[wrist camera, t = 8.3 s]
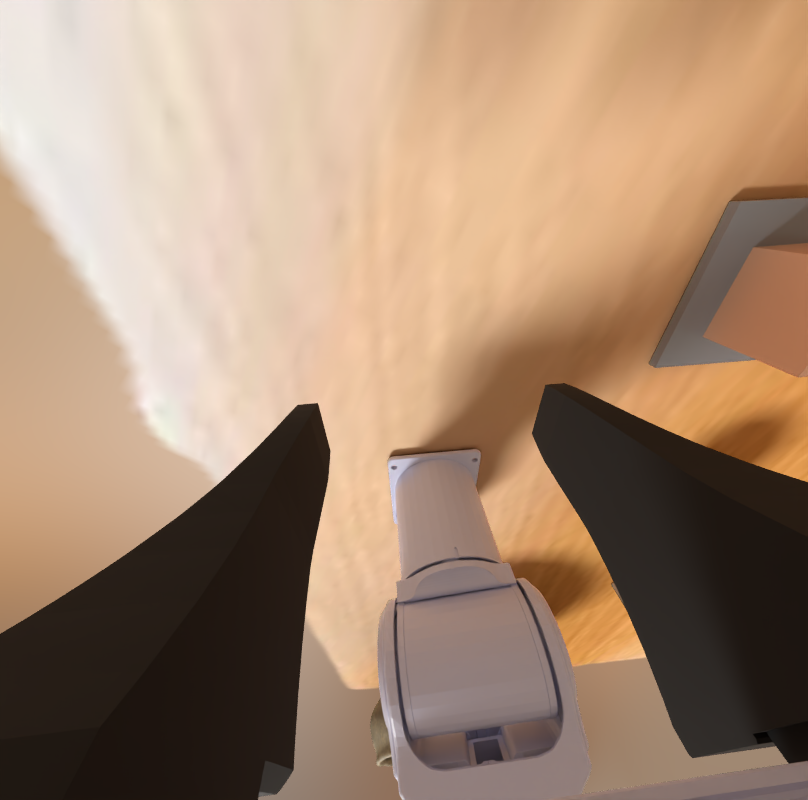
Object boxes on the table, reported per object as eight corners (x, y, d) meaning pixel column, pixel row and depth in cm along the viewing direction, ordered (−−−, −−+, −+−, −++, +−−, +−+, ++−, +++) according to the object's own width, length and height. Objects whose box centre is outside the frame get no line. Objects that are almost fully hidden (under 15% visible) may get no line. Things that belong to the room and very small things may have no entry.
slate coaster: (774, 353, 22) (784, 357, 22) (648, 364, 22) (655, 367, 21) (897, 192, 16) (914, 192, 16) (729, 201, 16) (741, 201, 15)
